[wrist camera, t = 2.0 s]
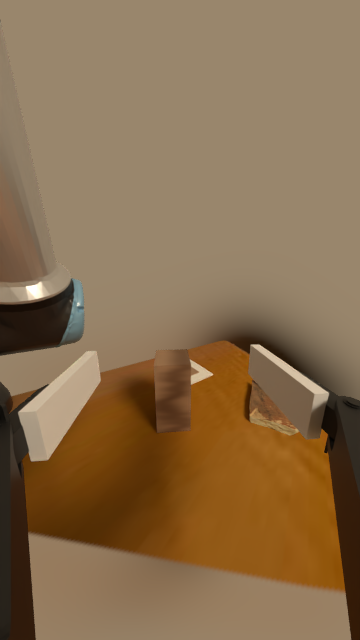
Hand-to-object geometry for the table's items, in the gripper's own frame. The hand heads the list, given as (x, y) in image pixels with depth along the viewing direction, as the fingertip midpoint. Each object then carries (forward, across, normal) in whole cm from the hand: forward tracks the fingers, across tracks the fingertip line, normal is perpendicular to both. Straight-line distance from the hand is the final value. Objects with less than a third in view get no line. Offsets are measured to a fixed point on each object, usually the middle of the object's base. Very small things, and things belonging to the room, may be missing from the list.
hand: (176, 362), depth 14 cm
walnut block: (+10, 0, -15) cm, 18 cm away
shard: (+11, +15, -16) cm, 25 cm away
